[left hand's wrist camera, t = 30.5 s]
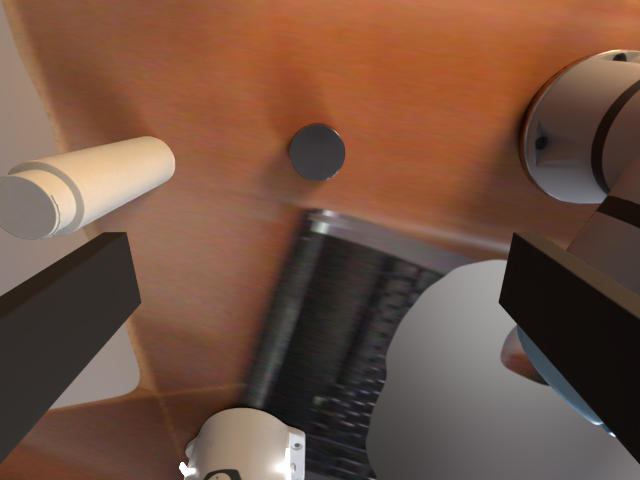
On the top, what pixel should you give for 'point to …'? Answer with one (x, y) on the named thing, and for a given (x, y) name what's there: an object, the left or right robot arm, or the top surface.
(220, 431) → the right robot arm
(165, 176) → the white cylindrical bottle
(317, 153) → the lid
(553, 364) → the left robot arm
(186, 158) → the top surface
